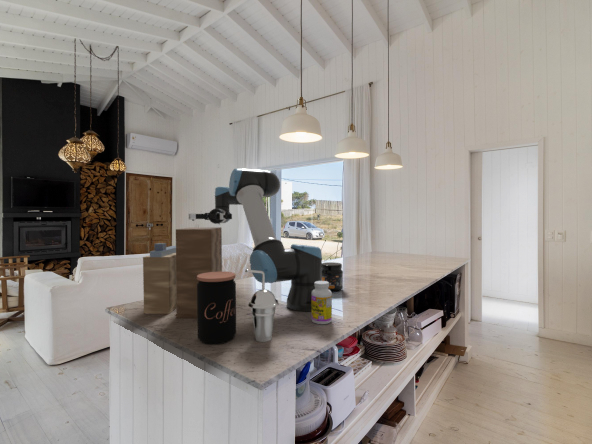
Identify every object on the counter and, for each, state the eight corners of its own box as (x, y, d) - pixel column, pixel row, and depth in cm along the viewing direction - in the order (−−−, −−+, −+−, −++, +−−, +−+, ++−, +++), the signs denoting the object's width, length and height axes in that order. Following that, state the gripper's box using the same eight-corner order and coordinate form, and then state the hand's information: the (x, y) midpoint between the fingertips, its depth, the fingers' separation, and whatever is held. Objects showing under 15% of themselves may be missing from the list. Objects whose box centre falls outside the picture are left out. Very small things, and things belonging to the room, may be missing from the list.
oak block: (160, 302, 127) (159, 252, 127) (183, 303, 127) (182, 252, 127) (143, 313, 114) (143, 257, 113) (169, 313, 114) (168, 257, 113)
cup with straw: (279, 344, 87) (278, 270, 86) (245, 345, 86) (244, 270, 86) (278, 332, 95) (277, 265, 95) (247, 333, 95) (247, 265, 94)
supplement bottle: (307, 321, 105) (307, 282, 105) (319, 316, 110) (319, 279, 110) (323, 326, 100) (323, 285, 100) (335, 321, 105) (335, 282, 105)
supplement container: (315, 290, 147) (315, 264, 147) (327, 286, 156) (327, 261, 156) (336, 293, 141) (336, 266, 141) (346, 289, 150) (346, 263, 150)
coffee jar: (201, 348, 84) (200, 280, 84) (194, 334, 94) (193, 273, 93) (241, 340, 89) (240, 276, 89) (230, 328, 99) (229, 270, 98)
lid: (172, 250, 133) (172, 240, 133) (182, 250, 133) (182, 239, 133) (149, 257, 114) (149, 244, 113) (161, 257, 113) (161, 244, 113)
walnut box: (190, 305, 123) (189, 227, 123) (222, 305, 123) (222, 227, 122) (176, 317, 109) (174, 229, 108) (212, 318, 109) (211, 229, 108)
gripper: (242, 223, 164) (233, 224, 143) (193, 223, 165) (177, 225, 144) (242, 208, 164) (233, 208, 143) (193, 208, 165) (177, 208, 143)
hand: (205, 216), depth 143 cm, fingers open, 13 cm apart
